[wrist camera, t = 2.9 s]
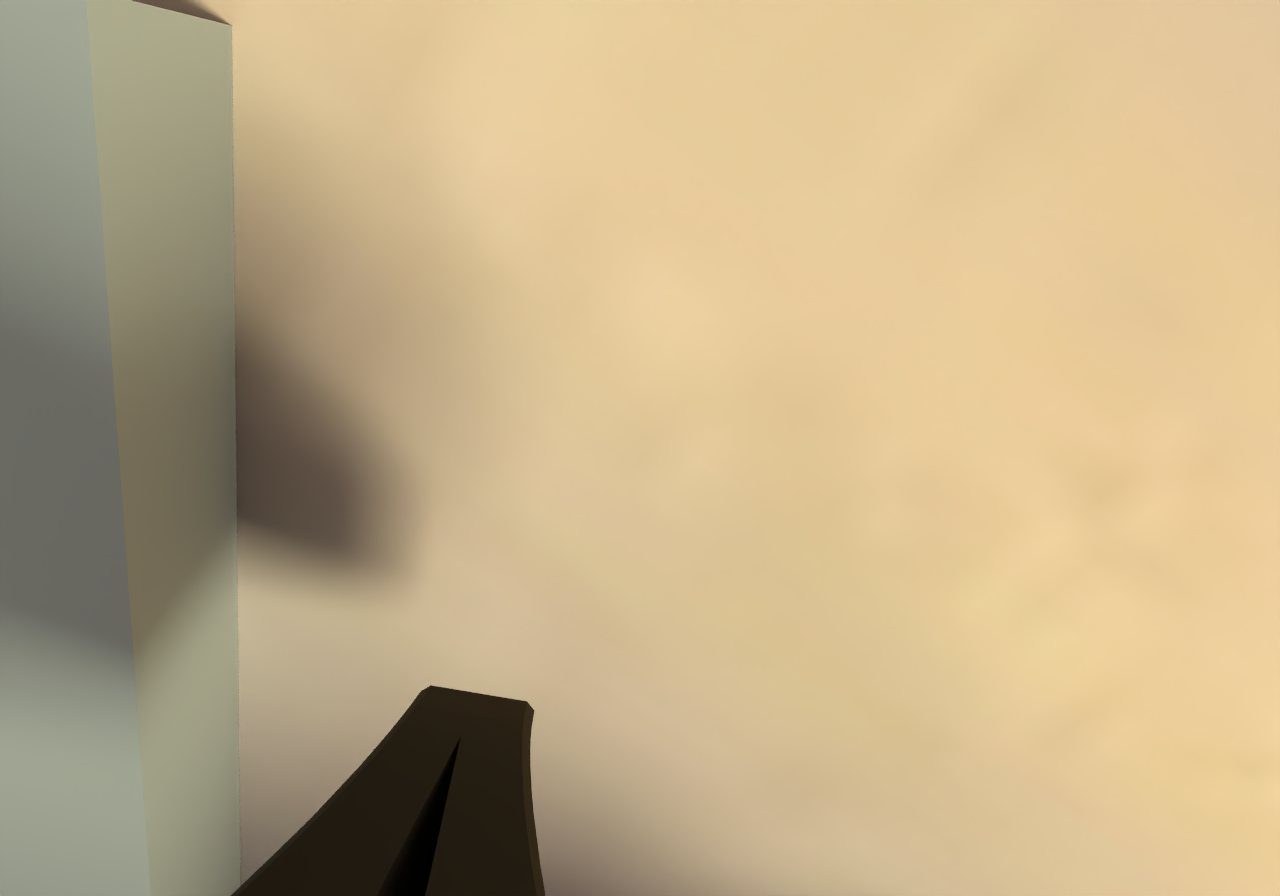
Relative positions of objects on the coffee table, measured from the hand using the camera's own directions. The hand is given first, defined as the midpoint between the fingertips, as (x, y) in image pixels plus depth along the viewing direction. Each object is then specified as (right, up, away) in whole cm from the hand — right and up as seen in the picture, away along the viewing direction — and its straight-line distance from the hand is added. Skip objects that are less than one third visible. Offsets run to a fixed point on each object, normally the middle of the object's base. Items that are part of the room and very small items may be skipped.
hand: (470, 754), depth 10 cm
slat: (-6, +2, +3) cm, 7 cm away
